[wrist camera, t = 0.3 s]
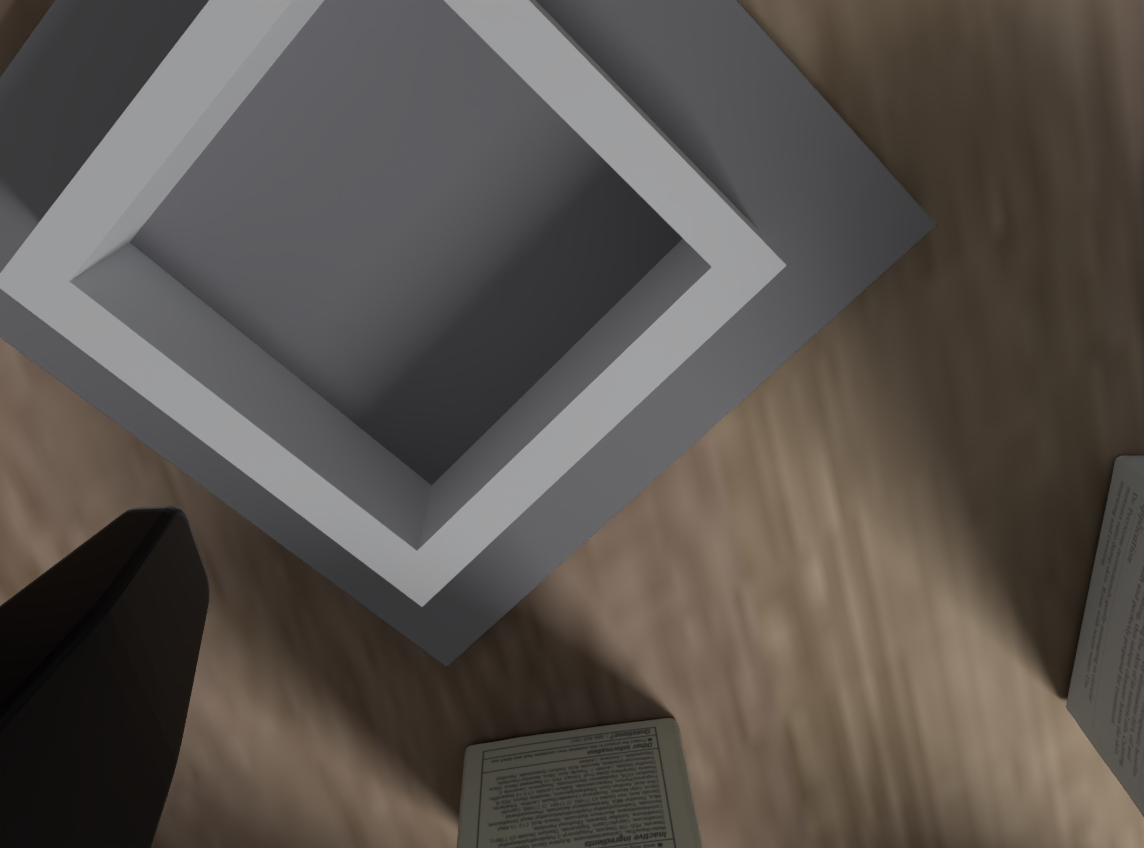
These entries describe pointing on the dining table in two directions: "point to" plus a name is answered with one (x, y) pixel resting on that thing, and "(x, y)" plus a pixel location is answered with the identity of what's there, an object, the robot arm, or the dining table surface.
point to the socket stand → (426, 261)
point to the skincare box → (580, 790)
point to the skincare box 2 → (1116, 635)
